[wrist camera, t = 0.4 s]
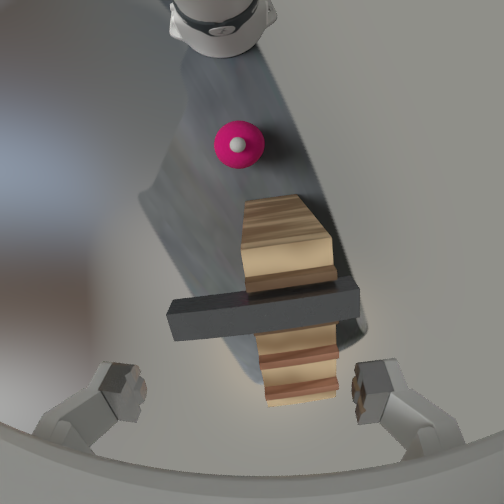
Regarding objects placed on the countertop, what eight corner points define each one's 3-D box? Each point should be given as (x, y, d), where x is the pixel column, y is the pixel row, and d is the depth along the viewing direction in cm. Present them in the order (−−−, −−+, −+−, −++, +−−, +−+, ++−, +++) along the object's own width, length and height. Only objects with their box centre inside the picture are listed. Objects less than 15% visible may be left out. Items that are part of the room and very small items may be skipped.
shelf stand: (245, 201, 56) (240, 255, 30) (296, 194, 56) (335, 242, 30) (262, 311, 63) (268, 415, 37) (307, 304, 63) (338, 404, 37)
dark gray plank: (180, 324, 34) (174, 341, 31) (173, 299, 33) (166, 314, 30) (351, 302, 33) (359, 317, 30) (350, 275, 32) (359, 288, 29)
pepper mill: (271, 136, 52) (282, 133, 33) (250, 172, 54) (249, 189, 35) (234, 115, 51) (225, 101, 32) (213, 151, 53) (192, 157, 34)
